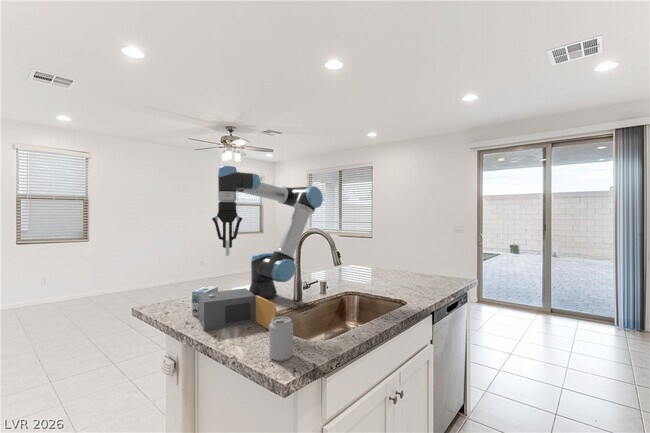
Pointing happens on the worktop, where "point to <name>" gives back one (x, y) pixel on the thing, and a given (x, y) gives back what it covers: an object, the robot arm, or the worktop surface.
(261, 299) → the orange cabinet door
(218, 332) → the worktop surface
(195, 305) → the light bulb box
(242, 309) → the grey microwave
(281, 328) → the can
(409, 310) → the worktop surface
